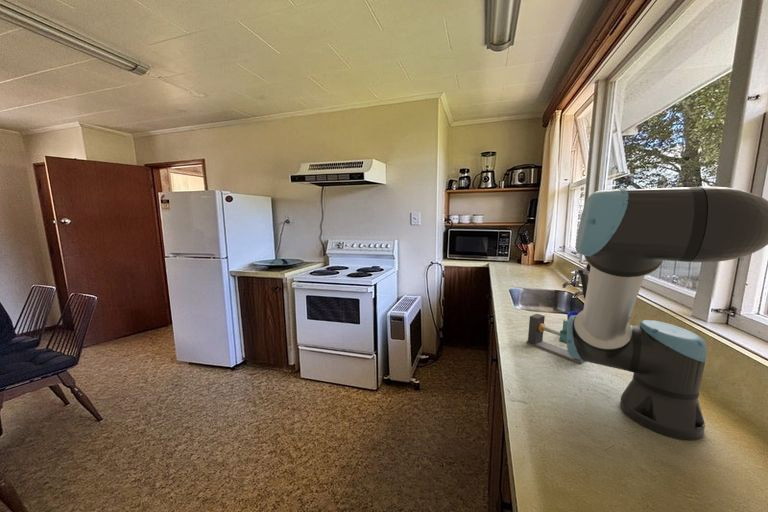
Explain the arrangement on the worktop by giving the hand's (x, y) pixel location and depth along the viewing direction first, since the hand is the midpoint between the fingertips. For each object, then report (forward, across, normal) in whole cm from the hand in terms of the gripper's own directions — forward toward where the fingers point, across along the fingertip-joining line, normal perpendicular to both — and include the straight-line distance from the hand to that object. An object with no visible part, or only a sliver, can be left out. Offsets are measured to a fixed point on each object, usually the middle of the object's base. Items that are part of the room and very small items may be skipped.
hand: (595, 322), depth 96 cm
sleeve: (+10, +7, 0) cm, 12 cm away
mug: (+15, +11, -19) cm, 27 cm away
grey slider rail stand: (+15, +11, 0) cm, 18 cm away
